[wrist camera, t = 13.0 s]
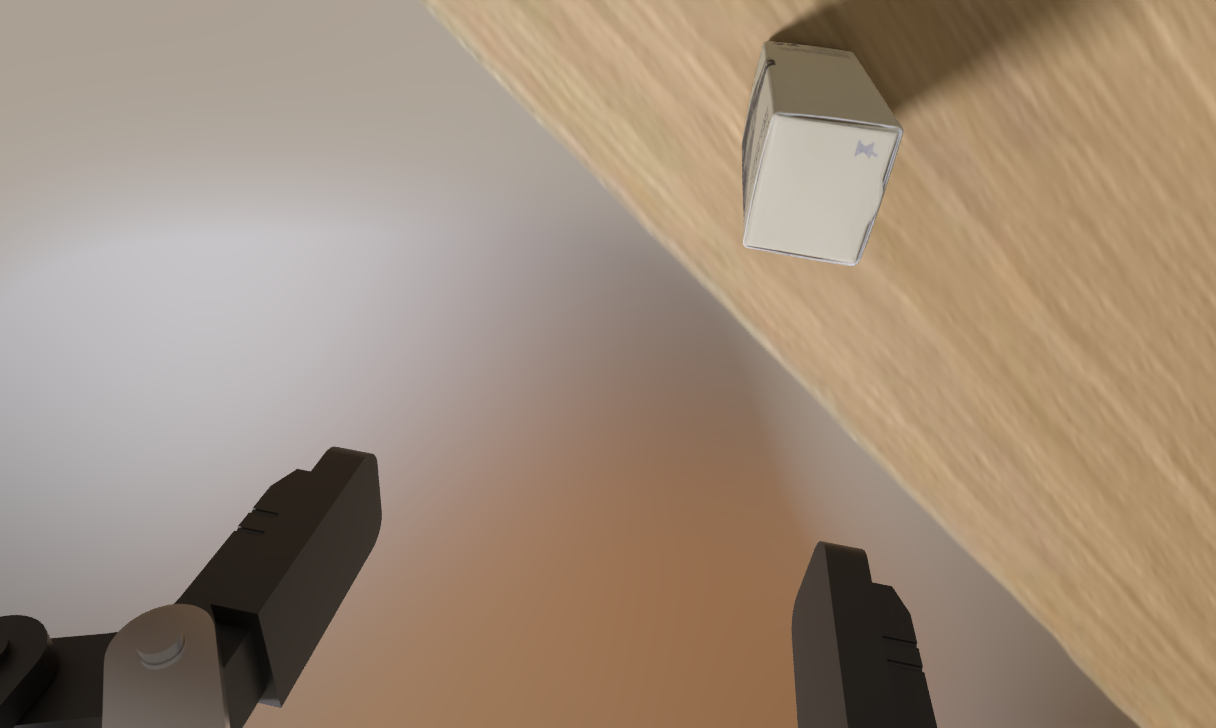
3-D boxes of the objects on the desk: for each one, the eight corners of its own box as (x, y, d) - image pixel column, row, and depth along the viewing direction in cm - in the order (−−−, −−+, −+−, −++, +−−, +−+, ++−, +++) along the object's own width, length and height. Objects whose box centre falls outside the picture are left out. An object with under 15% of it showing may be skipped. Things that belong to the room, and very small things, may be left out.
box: (762, 37, 34) (771, 99, 23) (857, 50, 33) (911, 119, 23) (739, 149, 37) (737, 250, 26) (826, 163, 36) (860, 271, 26)
